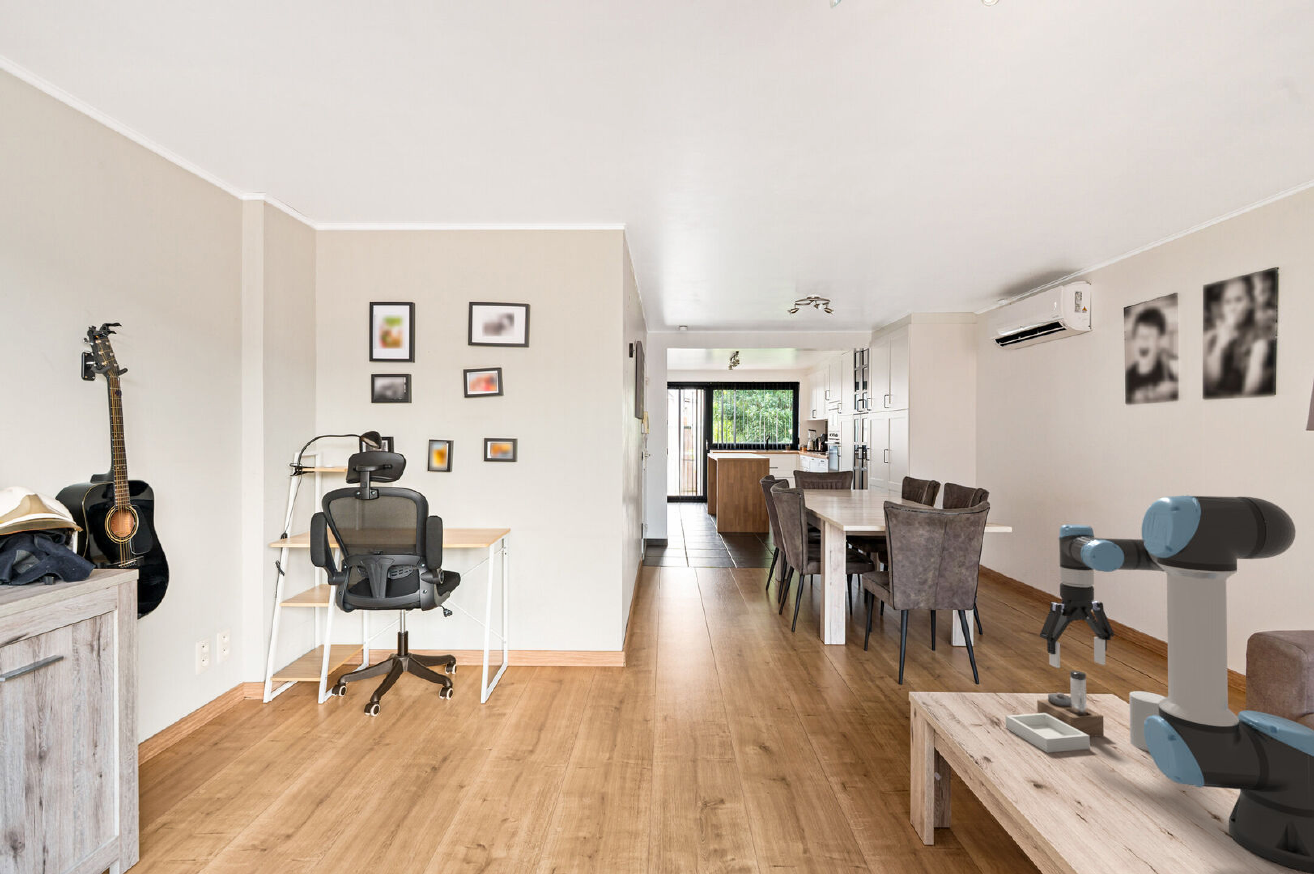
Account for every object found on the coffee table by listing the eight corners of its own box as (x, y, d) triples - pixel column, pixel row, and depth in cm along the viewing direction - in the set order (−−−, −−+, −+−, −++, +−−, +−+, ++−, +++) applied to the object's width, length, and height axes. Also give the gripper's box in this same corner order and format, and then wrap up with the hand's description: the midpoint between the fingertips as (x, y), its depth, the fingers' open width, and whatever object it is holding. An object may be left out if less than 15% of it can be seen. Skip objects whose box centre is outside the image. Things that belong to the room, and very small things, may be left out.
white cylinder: (1178, 749, 155) (1177, 700, 156) (1160, 756, 152) (1159, 705, 152) (1141, 736, 163) (1140, 689, 163) (1123, 742, 159) (1122, 694, 160)
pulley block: (1103, 735, 163) (1103, 705, 163) (1073, 737, 162) (1072, 707, 162) (1066, 716, 175) (1065, 688, 175) (1037, 718, 173) (1037, 690, 174)
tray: (1089, 748, 156) (1089, 735, 156) (1046, 752, 154) (1046, 739, 154) (1045, 724, 169) (1045, 712, 169) (1005, 727, 167) (1005, 715, 167)
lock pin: (1090, 733, 164) (1089, 674, 164) (1078, 734, 163) (1077, 675, 164) (1079, 728, 167) (1078, 670, 168) (1067, 729, 167) (1067, 671, 167)
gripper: (1105, 579, 172) (1105, 657, 172) (1024, 582, 168) (1024, 662, 168) (1130, 585, 165) (1130, 666, 164) (1046, 588, 161) (1046, 672, 160)
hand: (1077, 664), depth 166 cm, fingers open, 13 cm apart
